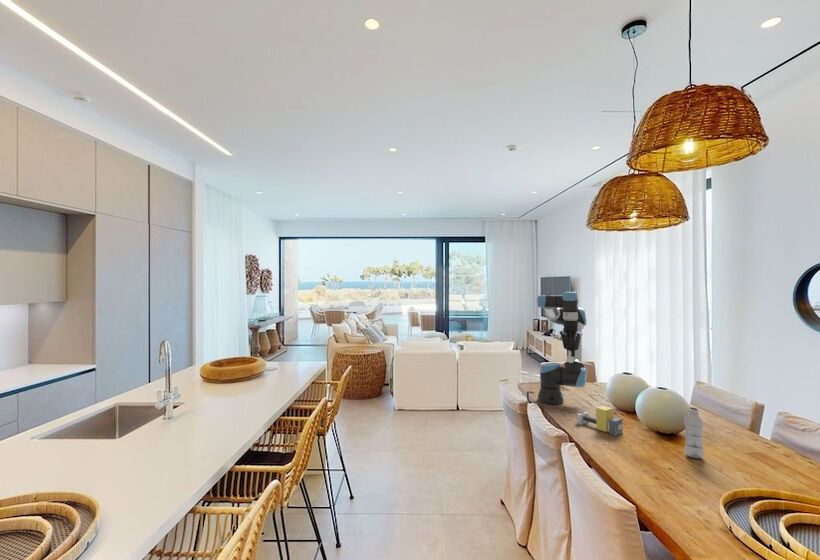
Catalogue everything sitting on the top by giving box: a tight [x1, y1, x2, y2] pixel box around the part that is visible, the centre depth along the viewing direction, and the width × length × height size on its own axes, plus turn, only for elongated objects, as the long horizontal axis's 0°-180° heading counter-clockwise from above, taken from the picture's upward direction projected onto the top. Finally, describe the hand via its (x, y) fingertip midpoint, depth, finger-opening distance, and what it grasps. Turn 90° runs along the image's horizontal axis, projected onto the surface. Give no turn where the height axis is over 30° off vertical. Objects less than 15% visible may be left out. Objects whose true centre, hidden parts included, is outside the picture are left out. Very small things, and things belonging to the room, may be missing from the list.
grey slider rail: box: [576, 411, 623, 437], centre depth 190 cm, size 7×21×7 cm, turn 31°
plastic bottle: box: [683, 407, 705, 459], centre depth 158 cm, size 6×7×20 cm
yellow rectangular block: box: [595, 405, 614, 433], centre depth 188 cm, size 6×5×10 cm
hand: (571, 362), depth 210 cm, fingers closed
